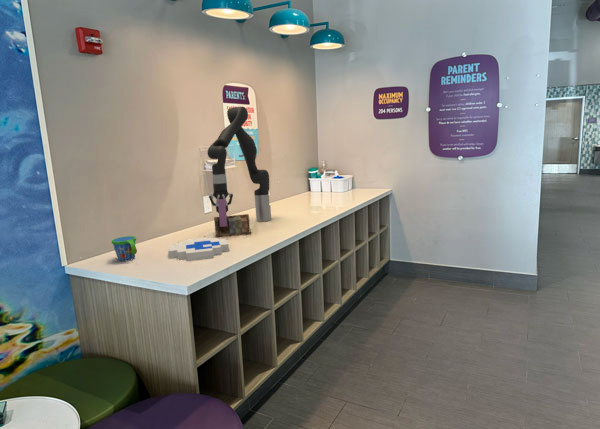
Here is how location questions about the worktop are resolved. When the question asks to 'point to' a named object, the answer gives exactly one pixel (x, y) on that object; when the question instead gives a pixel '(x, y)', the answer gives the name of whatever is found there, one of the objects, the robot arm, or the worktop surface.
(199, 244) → the pixel art tile
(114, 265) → the worktop surface
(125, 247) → the snack cup
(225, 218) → the plum book
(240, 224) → the camouflage pattern block
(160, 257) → the worktop surface
